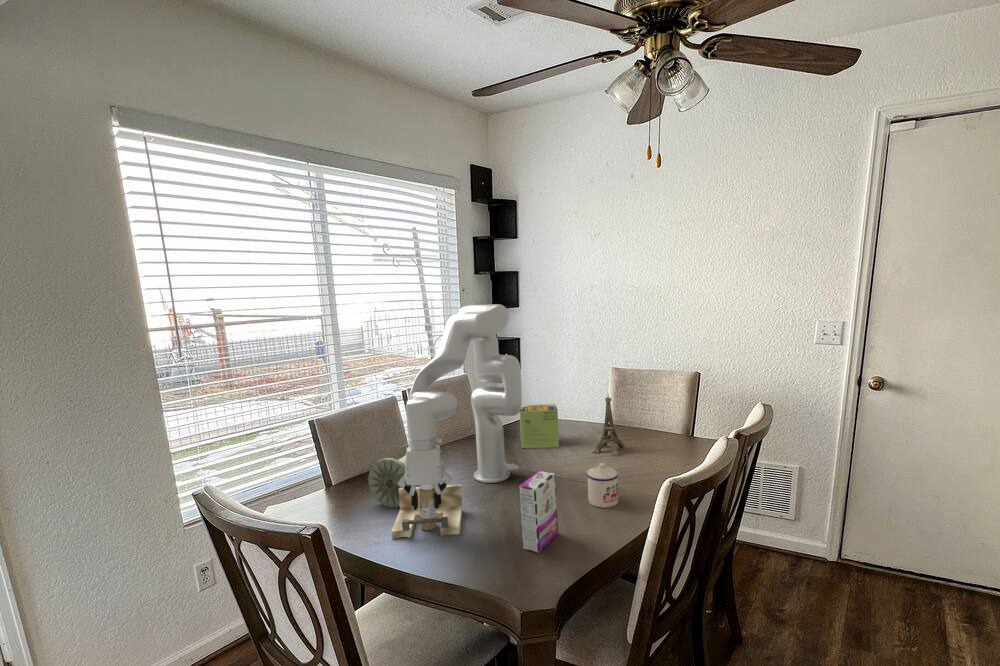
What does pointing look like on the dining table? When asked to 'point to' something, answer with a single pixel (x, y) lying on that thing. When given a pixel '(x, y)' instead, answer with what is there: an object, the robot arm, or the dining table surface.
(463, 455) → the dining table surface
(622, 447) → the eiffel tower
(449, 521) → the wooden stand
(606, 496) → the teacup with lid
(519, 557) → the dining table surface
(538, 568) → the dining table surface
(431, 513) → the sprinkles bottle
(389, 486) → the spool
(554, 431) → the protein box
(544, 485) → the candy bar box
